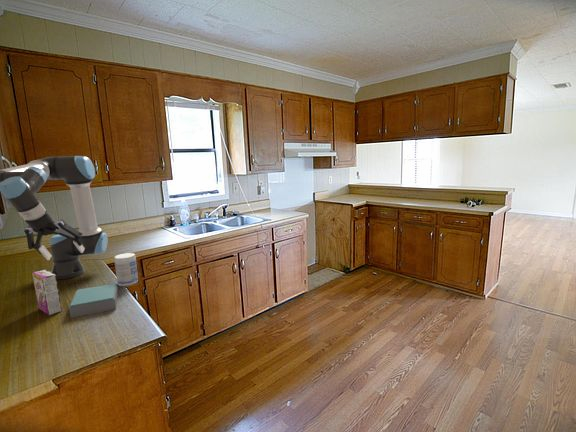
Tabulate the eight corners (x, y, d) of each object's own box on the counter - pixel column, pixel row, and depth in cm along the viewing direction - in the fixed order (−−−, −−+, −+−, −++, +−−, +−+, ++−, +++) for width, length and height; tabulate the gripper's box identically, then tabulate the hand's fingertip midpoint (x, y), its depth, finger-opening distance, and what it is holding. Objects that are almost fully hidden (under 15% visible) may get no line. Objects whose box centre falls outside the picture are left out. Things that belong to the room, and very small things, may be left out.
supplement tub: (137, 285, 154) (133, 257, 151) (115, 288, 151) (112, 259, 148) (139, 278, 163) (136, 251, 160) (119, 281, 160) (116, 253, 157)
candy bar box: (37, 309, 131) (31, 272, 128) (51, 304, 135) (45, 268, 132) (48, 316, 124) (41, 278, 121) (62, 311, 129) (56, 274, 126)
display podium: (77, 300, 139) (76, 289, 138) (118, 292, 146) (116, 282, 145) (70, 317, 123) (68, 306, 122) (116, 308, 130) (114, 297, 129)
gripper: (-5, 228, 114) (31, 267, 127) (65, 214, 116) (94, 253, 129) (6, 216, 120) (39, 254, 133) (72, 203, 122) (99, 242, 135)
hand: (66, 254), depth 131 cm, fingers open, 13 cm apart
